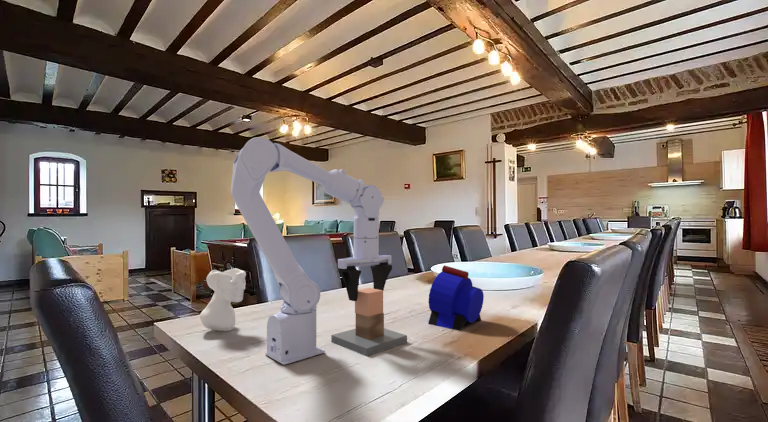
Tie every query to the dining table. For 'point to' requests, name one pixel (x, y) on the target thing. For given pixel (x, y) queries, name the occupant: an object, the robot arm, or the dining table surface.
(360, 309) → the terracotta block
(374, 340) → the base plate
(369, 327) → the walnut block
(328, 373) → the dining table surface
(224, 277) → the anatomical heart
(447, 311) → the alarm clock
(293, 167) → the robot arm
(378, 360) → the dining table surface
